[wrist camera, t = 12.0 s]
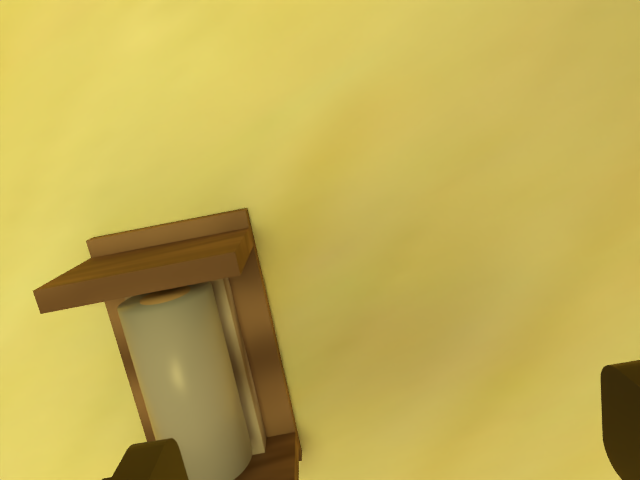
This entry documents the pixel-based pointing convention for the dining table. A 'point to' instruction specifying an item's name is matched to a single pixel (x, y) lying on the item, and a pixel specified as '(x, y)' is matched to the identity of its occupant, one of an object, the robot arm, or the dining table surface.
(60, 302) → the holder
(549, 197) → the dining table surface
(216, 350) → the cylinder
